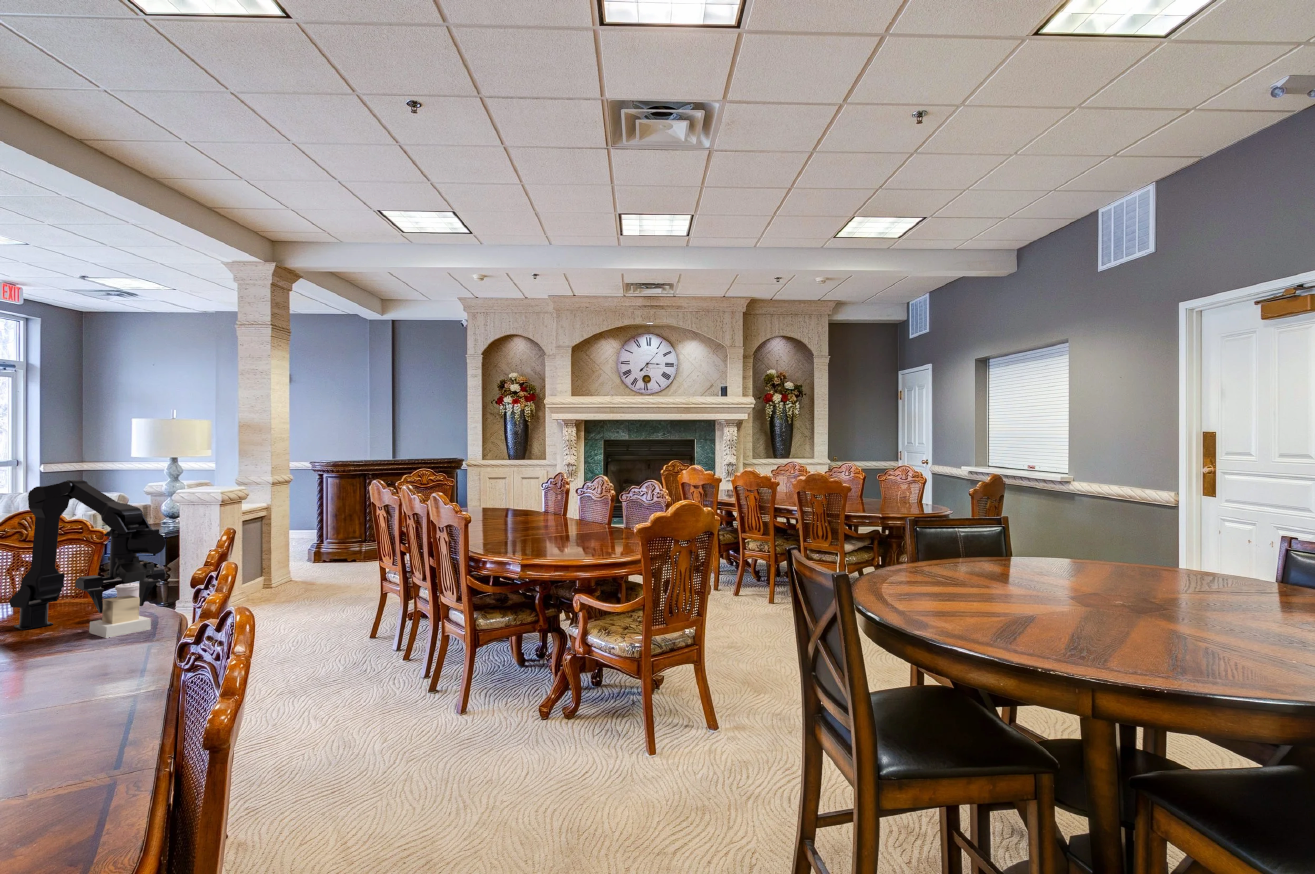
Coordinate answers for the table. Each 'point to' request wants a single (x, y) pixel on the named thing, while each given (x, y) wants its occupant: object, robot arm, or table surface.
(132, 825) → the table surface
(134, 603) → the maple cube
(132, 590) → the smoothie
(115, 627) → the plinth
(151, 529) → the robot arm
